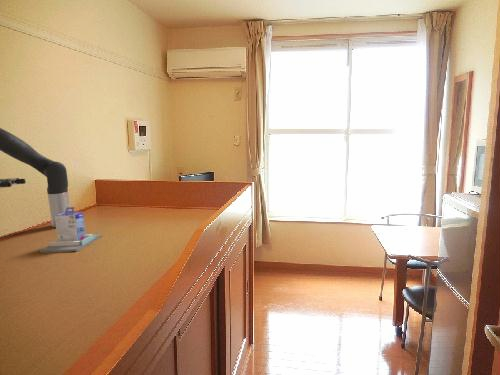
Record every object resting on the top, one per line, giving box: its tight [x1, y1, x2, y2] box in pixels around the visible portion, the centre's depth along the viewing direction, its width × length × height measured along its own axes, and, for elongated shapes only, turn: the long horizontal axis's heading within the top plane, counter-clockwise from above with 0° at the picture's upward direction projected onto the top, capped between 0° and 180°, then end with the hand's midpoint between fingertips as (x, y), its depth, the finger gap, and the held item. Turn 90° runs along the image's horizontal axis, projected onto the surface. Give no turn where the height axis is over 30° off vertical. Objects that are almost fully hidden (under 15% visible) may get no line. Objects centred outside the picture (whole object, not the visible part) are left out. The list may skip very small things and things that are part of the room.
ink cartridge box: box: [55, 206, 87, 242], centre depth 146 cm, size 10×6×14 cm, turn 80°
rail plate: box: [39, 233, 103, 254], centre depth 147 cm, size 20×15×2 cm
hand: (18, 182), depth 151 cm, fingers open, 8 cm apart
